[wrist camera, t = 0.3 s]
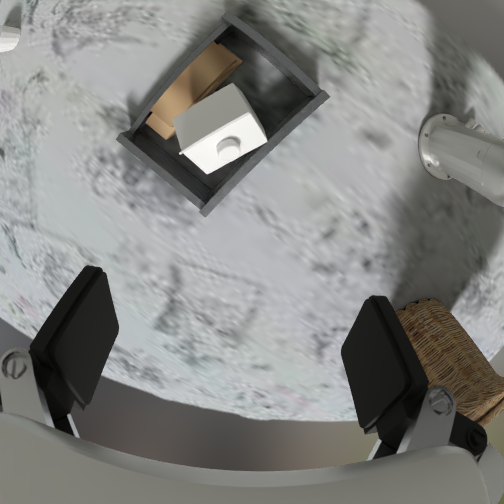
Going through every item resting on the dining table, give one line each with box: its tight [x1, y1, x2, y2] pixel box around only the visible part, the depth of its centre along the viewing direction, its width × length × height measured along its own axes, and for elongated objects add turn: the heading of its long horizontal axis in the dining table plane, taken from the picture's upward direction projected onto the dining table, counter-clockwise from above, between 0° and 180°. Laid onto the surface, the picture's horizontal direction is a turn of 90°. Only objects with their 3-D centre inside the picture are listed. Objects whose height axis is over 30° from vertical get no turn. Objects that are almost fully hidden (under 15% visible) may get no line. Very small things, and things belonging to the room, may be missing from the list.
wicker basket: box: [396, 298, 504, 427], centre depth 46 cm, size 35×35×33 cm
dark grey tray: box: [116, 11, 330, 217], centre depth 34 cm, size 24×18×7 cm
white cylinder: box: [0, 25, 21, 52], centre depth 20 cm, size 7×7×7 cm
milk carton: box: [172, 83, 267, 174], centre depth 30 cm, size 7×7×19 cm
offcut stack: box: [145, 42, 243, 140], centre depth 33 cm, size 16×5×5 cm, turn 136°
